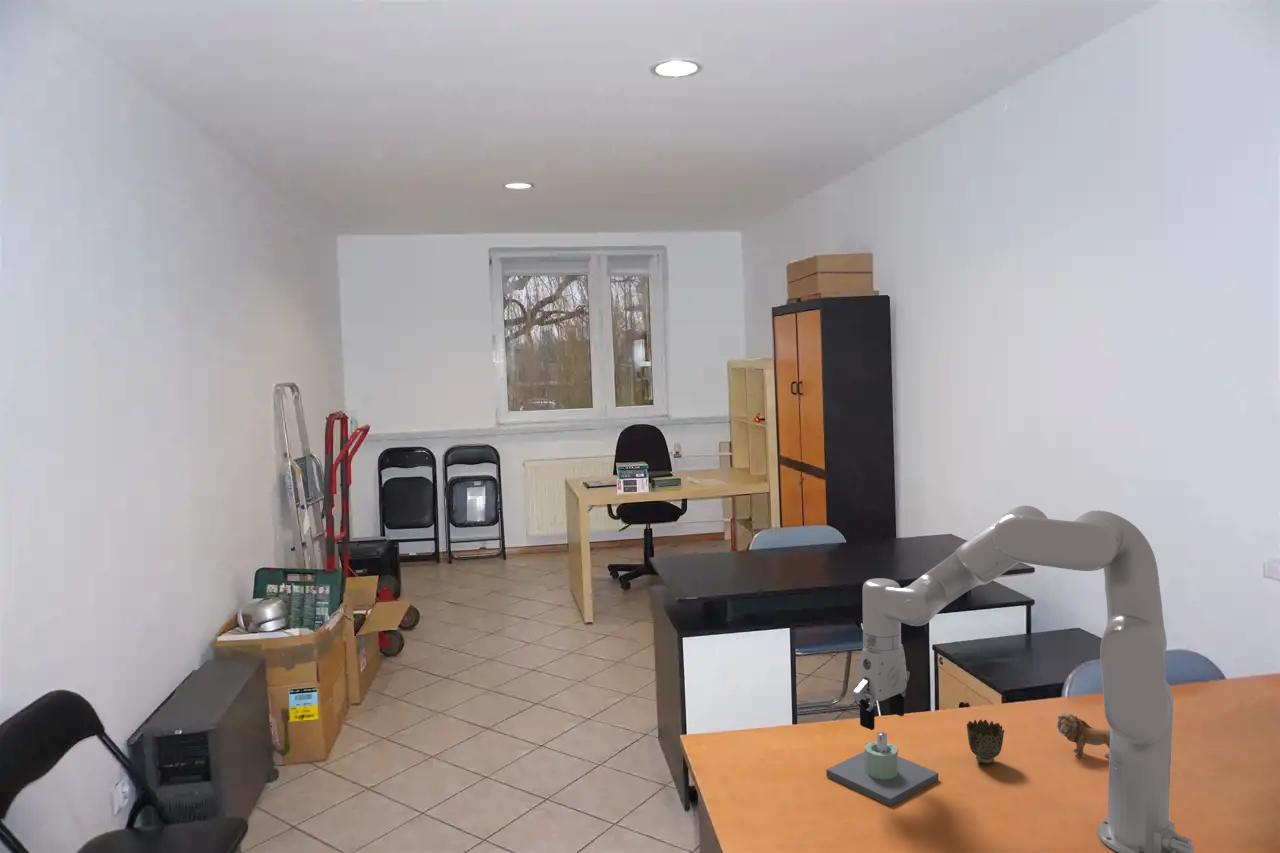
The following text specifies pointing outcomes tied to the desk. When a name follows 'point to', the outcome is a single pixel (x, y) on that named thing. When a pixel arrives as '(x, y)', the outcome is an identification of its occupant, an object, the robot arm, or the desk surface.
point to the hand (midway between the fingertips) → (882, 720)
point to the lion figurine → (1082, 733)
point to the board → (883, 790)
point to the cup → (985, 740)
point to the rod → (881, 742)
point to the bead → (881, 761)
